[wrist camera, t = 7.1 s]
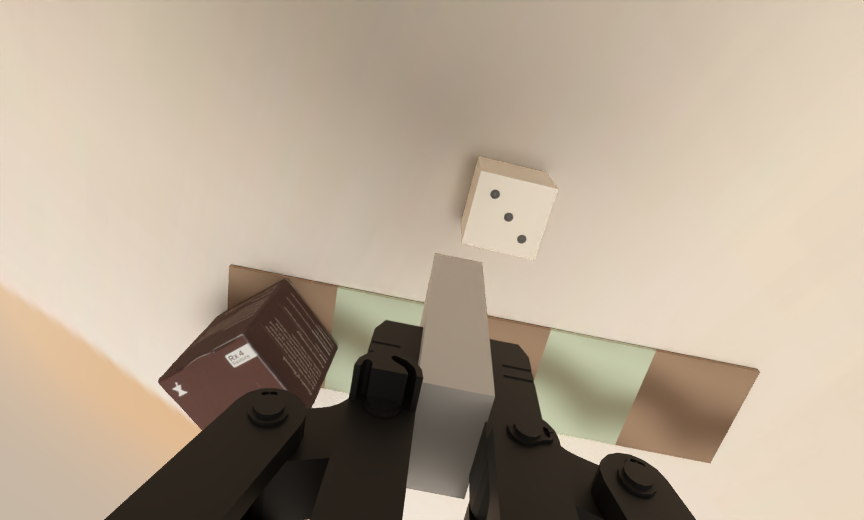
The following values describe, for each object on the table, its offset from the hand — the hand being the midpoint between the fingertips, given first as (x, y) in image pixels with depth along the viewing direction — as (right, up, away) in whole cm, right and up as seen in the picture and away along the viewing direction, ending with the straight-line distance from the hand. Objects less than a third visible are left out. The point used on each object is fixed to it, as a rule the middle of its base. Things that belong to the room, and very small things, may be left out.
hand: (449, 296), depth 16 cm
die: (+4, +5, +14) cm, 15 cm away
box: (-11, -3, +18) cm, 21 cm away
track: (+3, -6, +18) cm, 19 cm away
